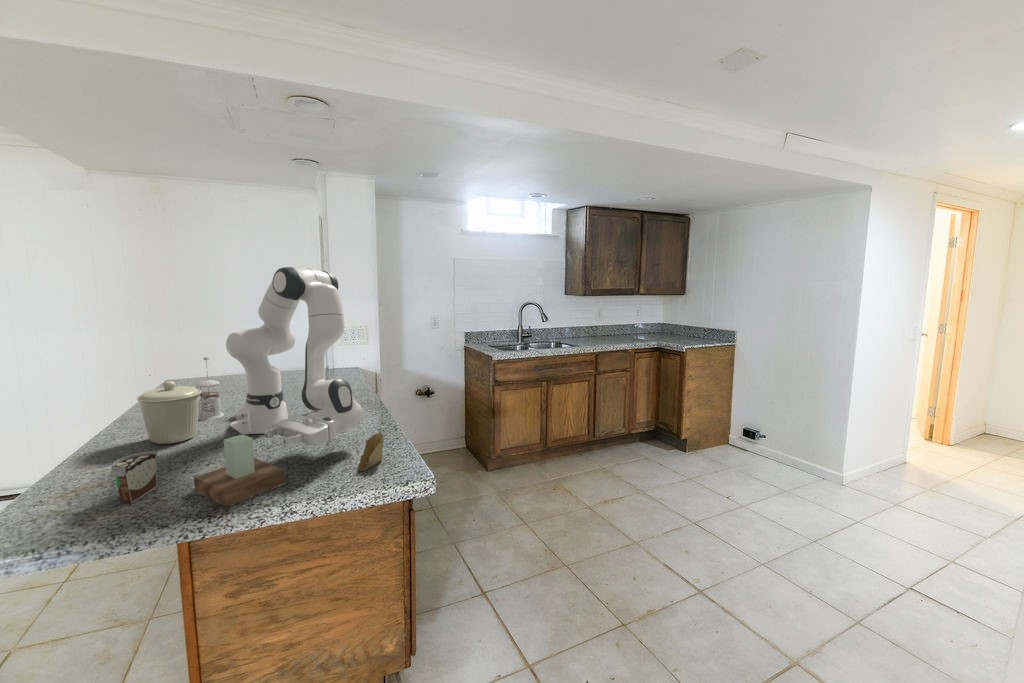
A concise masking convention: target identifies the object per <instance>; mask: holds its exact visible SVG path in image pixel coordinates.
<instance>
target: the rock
mask: <svg viewBox="0 0 1024 683" xmlns="http://www.w3.org/2000/svg"><path fill="white" fill-rule="evenodd" d="M384 439H385V438H384V435H383V434H382V433H381V432H379V433H375V434H373V435H372V436H371V437H369V438H368V439H366V441H365V447H364V449H363V453H362V454H361V456H360V460H359V463H358V467H357V471H360V472H365V471H366V470H368V469H370V468H372V467H373V466H376V465H377V464H378V463H380V462H381V461H382V460H383V448H384Z"/></svg>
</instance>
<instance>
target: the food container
mask: <svg viewBox="0 0 1024 683" xmlns="http://www.w3.org/2000/svg"><path fill="white" fill-rule="evenodd" d="M158 458H159V456H158V452H157V450H151V451H143V452H137V453H133V454H129V455H126V456H123V457H120V458H118V459H117V460H114V462H113V463H112V465H111V470H110V474H111V475H112V476H113V477H114V478H115V482H116V486H117V491H118V495H119V500H120V502H121V503H123V504H130V505H133V503H135V502H136V501H138V500H140V499H141V498H142V497H144V496H146V495H147V494H149V493H150V492H152V491H153V490H155V489H156V488H157V487H158V472H157V470H158V468H157V467H158V466H157V461H158V460H157V459H158Z"/></svg>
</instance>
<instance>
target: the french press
mask: <svg viewBox="0 0 1024 683" xmlns="http://www.w3.org/2000/svg"><path fill="white" fill-rule="evenodd" d="M202 360H203V361H205V364H206V368H208V362H207V361H208V360H210V358H209V357H208V356H205V357H203V359H202ZM206 374H207V375H206V376H207V377H206V380H202V381H199V382H198V383H196V384H195V385H196V387H195V388H197V389H199V390H201V391H202V389H201V388H207V391H204V392H201V394H199V397H200V398H199V414H198V421H199V420H200V421H207V420H214V419H219V418H221V417H222V418H223V417H224V416H225V413H224V412H222V406H221V404H222V403H221V395H220V394H219V393H220V392H219V391H216V390H212V391H210V387H215V386H219V385H220V382H219V381H218V380H214V379H209V376H208V371H206Z"/></svg>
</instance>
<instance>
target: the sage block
mask: <svg viewBox="0 0 1024 683" xmlns="http://www.w3.org/2000/svg"><path fill="white" fill-rule="evenodd" d="M223 449H224V464H225V467H226V475H228V476H230V477H233V478H235V479H238V478H240V477H243V476H246V475H249V474H252V473H255V468H254V458H255V456H254V454H255V453H254V440H253V437H251V436H248V435H247V434H246V435H243V434H238V435H236V436H235V435H234V436H231V437H228V438H225V439H223Z"/></svg>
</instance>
